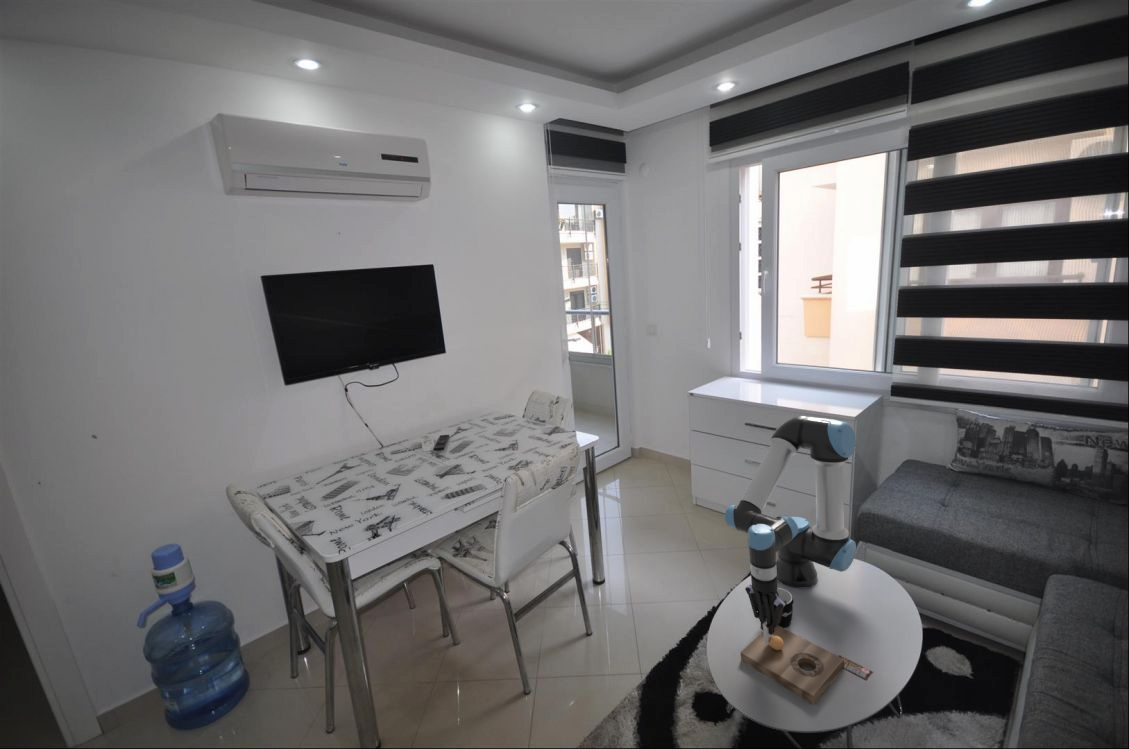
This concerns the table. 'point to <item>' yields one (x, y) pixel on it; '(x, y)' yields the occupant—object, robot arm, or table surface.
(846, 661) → the chocolate bar
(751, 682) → the table surface
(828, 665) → the wooden board
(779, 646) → the ball
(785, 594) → the mug
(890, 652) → the table surface
